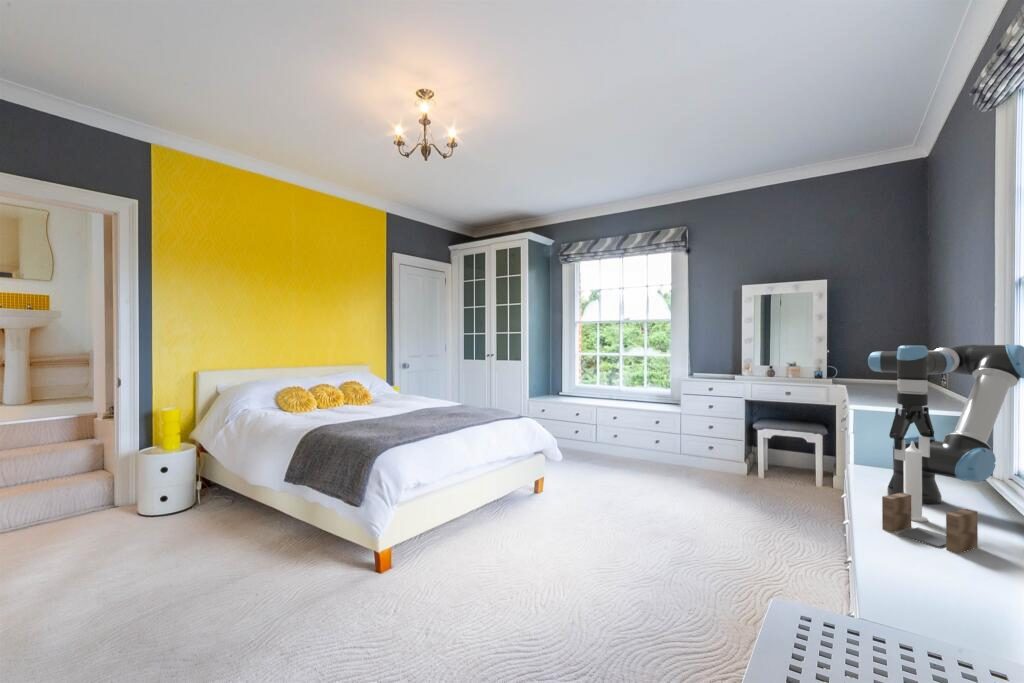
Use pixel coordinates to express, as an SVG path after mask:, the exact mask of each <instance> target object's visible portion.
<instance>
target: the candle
mask: <svg viewBox="0 0 1024 683" xmlns="http://www.w3.org/2000/svg"><path fill="white" fill-rule="evenodd" d="M904 493H905V494H909V495H911V522H917V523H918V522H919V523H926V522H928V519H929V518H928V517H927V516H925V515H923V503H922V452H921V451H920V450H918V449H917V448H916V447H915V444H914V441H911V445H910V446H909V447H908V448H907V449H905V461H904Z"/></svg>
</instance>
